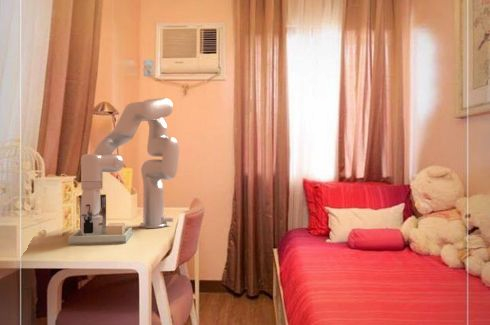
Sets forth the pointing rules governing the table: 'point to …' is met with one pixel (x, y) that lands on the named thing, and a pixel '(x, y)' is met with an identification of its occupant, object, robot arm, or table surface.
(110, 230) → the parcel
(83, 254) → the table surface
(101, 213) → the coffee box
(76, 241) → the grey-green tray
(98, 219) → the skincare box
